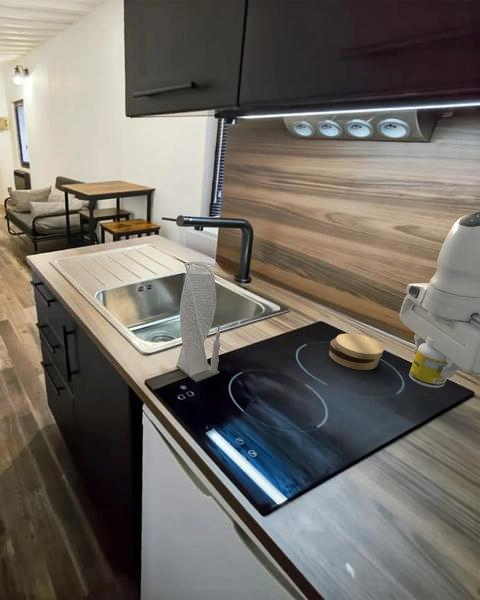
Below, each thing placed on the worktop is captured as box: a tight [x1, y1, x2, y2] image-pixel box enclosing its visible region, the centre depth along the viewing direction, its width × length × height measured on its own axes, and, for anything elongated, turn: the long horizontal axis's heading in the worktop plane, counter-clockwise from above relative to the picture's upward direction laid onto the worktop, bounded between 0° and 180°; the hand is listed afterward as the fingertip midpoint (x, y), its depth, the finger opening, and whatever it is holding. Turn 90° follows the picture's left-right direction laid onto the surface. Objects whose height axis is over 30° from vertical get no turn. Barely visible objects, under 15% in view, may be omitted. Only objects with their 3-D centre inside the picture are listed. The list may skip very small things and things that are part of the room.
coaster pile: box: [328, 332, 385, 371], centre depth 87 cm, size 10×10×4 cm
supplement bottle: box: [408, 337, 448, 389], centre depth 71 cm, size 5×5×10 cm
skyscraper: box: [175, 261, 222, 383], centre depth 82 cm, size 8×8×28 cm
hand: (431, 365), depth 72 cm, fingers closed on supplement bottle, 5 cm apart
